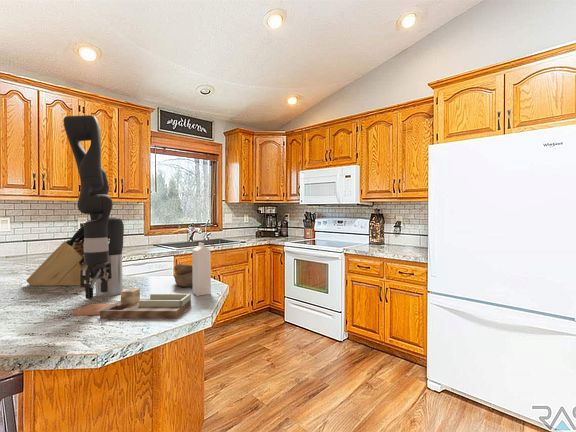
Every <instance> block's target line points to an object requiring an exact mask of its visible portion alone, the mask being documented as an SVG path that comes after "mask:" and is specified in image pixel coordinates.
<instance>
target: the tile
mask: <svg viewBox="0 0 576 432" xmlns="http://www.w3.org/2000/svg"><path fill="white" fill-rule="evenodd" d="M113 304H114V303H89V304H88V305H84V306H83V307H80V308H77V309H76V310H73V316H80V315H81V316H82V315H83V316H85V315H87V316H100V311H101V310H103V309H105V308H107V307H109V306H111V305H113Z"/></svg>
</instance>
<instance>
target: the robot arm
mask: <svg viewBox="0 0 576 432" xmlns="http://www.w3.org/2000/svg"><path fill="white" fill-rule="evenodd" d="M63 128H64V131H65V134H66V137H67V139H68V143H69V145H70V148H71V151H72V154H73V156H74V159H75V163H76V168H77V170H78V176H79V180H80V191H79V195H78V200H77V205H76V206H77V207H76V208H77V209H78V211H79V212H80V213H81V214H84V215H89V217H90V220H89V221H88V220H87V221H86V222H85V223H84V224H83V226H84V264H86V265H87V266H88V267H87V270H81V271H80V285H79V287H80V288H83V289H84V290H85V291H84V292H85V293H84V294H85V295H84V296H85V299H86V300H92V299H94V285H95V296H98V297H110V296H111V297H112V296H116V295H117V296H118V295H121V291H123V290H124V289H123V250H124V249H123V248H124V235H125V225H124V221H123V220H122V218H120V217H110V215H111V212H112V210H113V205H114V203H113V200H112V198H111V196H109V195H108V194H109V191H110V184H109V181H108V177H107V172H106V171H105V169H104V168H103V167H102V138H101V128H100V124H99V121H98V119H97V117H96V116H95V115H87V114H86V115H84V114H83V115H66V116H64V118H63ZM86 141H88V142H89V141H90V145H89V147H88V150H87V151H86V150H85V149H84V147H83V145H82V144H81V142H86ZM108 239H110V241H109V242H108ZM90 278H91V279H90ZM84 280H85V281H86V282H85V284H84Z"/></svg>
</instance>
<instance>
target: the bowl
mask: <svg viewBox="0 0 576 432" xmlns="http://www.w3.org/2000/svg"><path fill="white" fill-rule="evenodd" d="M173 270H174V273H173V278H174V283H175V284H176V285H177V286H179V287H182V288H187V287H193V285H192V264H191V265H190V264H181V263H178V264H175V265H174V269H173Z"/></svg>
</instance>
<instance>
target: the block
mask: <svg viewBox="0 0 576 432" xmlns="http://www.w3.org/2000/svg"><path fill="white" fill-rule="evenodd" d="M140 291H141V290H140V288H133V287H132V288H126V289H122V291H121V294H120V301H121V304H135V303H137V302H138V301H139V300H140V299H141V297H140Z"/></svg>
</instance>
